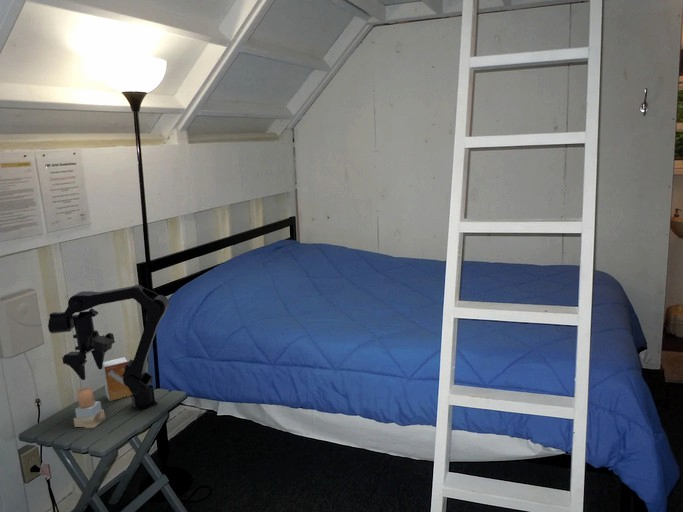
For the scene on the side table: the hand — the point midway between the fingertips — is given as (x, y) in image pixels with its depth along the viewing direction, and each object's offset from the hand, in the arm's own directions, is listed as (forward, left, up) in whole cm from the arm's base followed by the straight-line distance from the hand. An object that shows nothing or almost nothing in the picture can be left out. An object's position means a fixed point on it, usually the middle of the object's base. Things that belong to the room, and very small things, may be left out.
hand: (92, 374), depth 185 cm
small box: (-10, -6, -13) cm, 18 cm away
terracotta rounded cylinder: (+6, +8, -7) cm, 12 cm away
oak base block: (+6, +8, -13) cm, 17 cm away
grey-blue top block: (+5, +8, -10) cm, 14 cm away
